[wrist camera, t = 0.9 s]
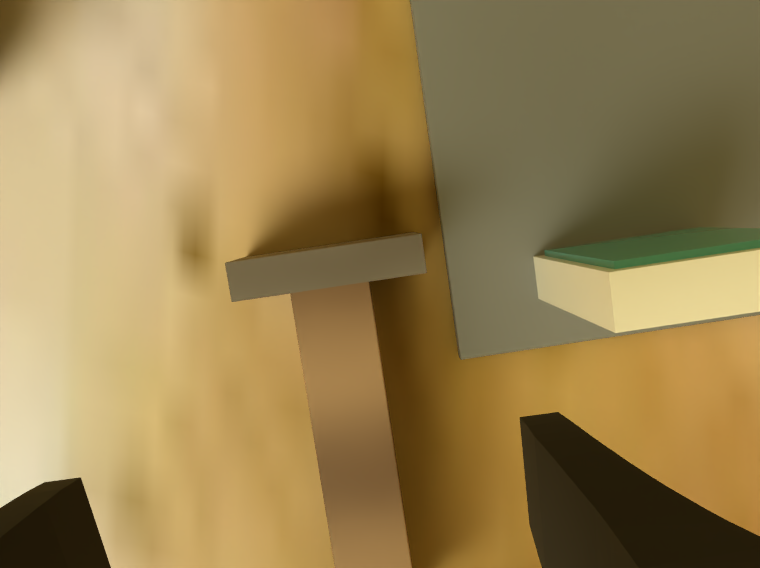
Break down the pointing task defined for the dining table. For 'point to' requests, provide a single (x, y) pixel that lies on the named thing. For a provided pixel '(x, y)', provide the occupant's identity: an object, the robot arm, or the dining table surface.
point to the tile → (655, 278)
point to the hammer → (344, 382)
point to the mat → (580, 141)
